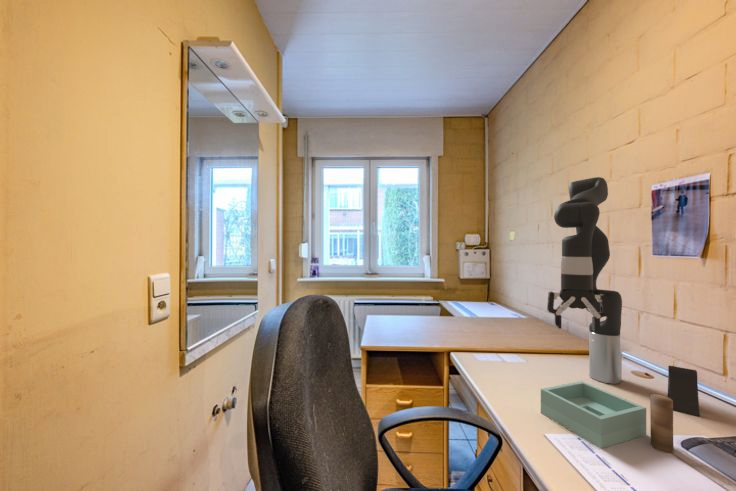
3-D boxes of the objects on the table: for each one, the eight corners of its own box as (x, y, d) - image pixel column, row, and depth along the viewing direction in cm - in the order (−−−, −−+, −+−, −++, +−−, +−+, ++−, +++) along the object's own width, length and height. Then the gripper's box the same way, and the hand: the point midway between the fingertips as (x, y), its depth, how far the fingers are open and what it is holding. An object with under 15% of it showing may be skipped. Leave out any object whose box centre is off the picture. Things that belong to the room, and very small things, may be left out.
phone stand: (699, 417, 88) (699, 375, 88) (670, 409, 92) (670, 370, 92) (694, 405, 95) (694, 366, 95) (667, 398, 99) (667, 361, 99)
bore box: (581, 403, 96) (581, 381, 96) (646, 434, 79) (646, 407, 80) (540, 412, 90) (540, 388, 90) (601, 448, 74) (601, 419, 74)
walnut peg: (656, 441, 77) (656, 393, 77) (677, 450, 73) (677, 400, 73) (646, 444, 76) (646, 395, 76) (666, 454, 72) (666, 403, 72)
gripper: (602, 272, 88) (602, 329, 88) (545, 270, 93) (546, 324, 93) (611, 274, 81) (612, 335, 81) (549, 272, 86) (549, 330, 86)
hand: (576, 329), depth 87 cm, fingers open, 8 cm apart
